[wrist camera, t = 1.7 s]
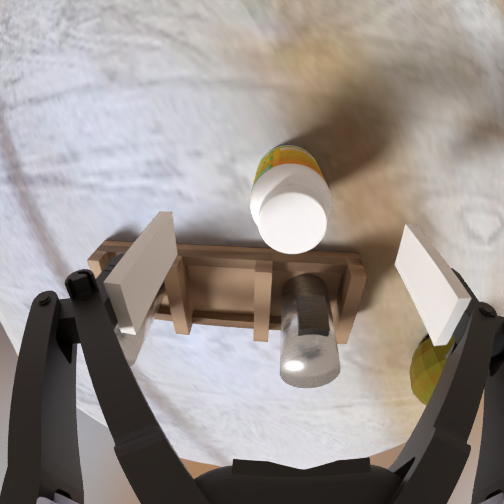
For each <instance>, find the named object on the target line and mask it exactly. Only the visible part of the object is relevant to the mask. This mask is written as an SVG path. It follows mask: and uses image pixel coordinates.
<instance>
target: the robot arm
mask: <svg viewBox="0 0 504 504" xmlns="http://www.w3.org/2000/svg"><path fill="white" fill-rule="evenodd" d="M176 256H177V246H176V239H175V231H174V223H173V215H172V212H159V213H158V214H157V215H156V216H155V218H154V219H153V220H152V221H151V222H150V224H149V225H148V226H147V227H146V228H145V230H144V231H143V232H142V233H141V234H140V236H139V237H138V238H137V239H136V241H135V242H134V243H133V244H132V246H131V247H130V248H129V249H128V251H127V252H126V253H120V254H118V255H117V256H115V257H114V258H112V259H111V261H110V262H109V263H108V264H107V266H106V267H105V268H104V269H103V271H102V272H101V273H100V274H99V276H98V277H97V278H96V279H95V276H94V273H93V272H92V271H91V270H88V269H82V270H78V271H76V272H73V273H72V274H70V275H69V276H68V277H67V278H66V280H65V286H66V288H67V291H68V293H69V296H70V298H69V299H60V300H59V298H58V296H57V294H56V293H55V292H54V291H45V292H42V293H41V294H39V295H38V296H37V297H36V298H35V299H34V300H33V302H32V305H31V309H30V312H29V316H28V319H27V323H26V327H25V331H24V335H23V339H22V343H21V348H20V352H19V357H18V362H17V367H16V373H15V379H14V386H13V392H12V401H11V409H10V419H9V435H8V467H7V471H6V474H5V478H4V482H3V486H2V490H1V494H0V504H84V490H83V481H82V474H81V466H80V458H79V448H78V437H77V419H76V356H77V343H81V346H82V350H83V353H84V357H85V361H86V364H87V367H88V371H89V374H90V377H91V380H92V384H93V387H94V390H95V393H96V395H97V398H98V401H99V404H100V407H101V409H102V412H103V415H104V417H105V420H106V422H107V425H108V427H109V430H110V432H111V435H112V437H113V439H114V442H115V447H114V450H115V453H116V456H117V458H118V460H119V463H120V465H121V467H122V469H123V471H124V473H125V475H126V477H127V479H128V481H129V483H130V485H131V486H132V488H133V490H134V492H135V494H136V495H137V497H138V499H139V501H140V503H141V504H447V502H448V500H449V498H450V496H451V494H452V492H453V490H454V488H455V486H456V484H457V482H458V480H459V478H460V475H461V473H462V471H463V469H464V466H465V464H466V461H467V459H468V457H469V454H470V450H471V446H470V445H468V444H467V440H468V437H469V434H470V432H471V429H472V426H473V423H474V420H475V417H476V414H477V411H478V408H479V404H480V400H481V397H482V394H483V390H485V391H484V414H483V415H484V416H483V428H482V439H481V446H480V454H479V460H478V466H477V472H476V477H475V482H474V488H473V494H472V502H471V504H504V317H501V316H497V313H496V311H495V309H494V308H493V307H492V306H490V305H489V304H487V303H484V302H479V301H478V300H477V298H476V297H475V295H474V294H473V292H472V291H471V289H470V288H469V287H468V285H467V284H466V282H464V279H463V278H462V277H461V275H460V274H459V273H458V272H456V271H455V270H454V269H453V268H450V267H449V265H448V264H447V263H446V261H445V260H444V259H443V257H442V256H441V255H440V253H439V252H438V251H437V249H436V248H435V247H434V246H433V244H432V243H431V242H430V241H429V239H428V238H427V237H426V236H425V234H424V233H423V232H422V231H421V230H420V228H419V227H418V226H417V225H411V224H405V228H404V232H403V236H402V240H401V244H400V247H399V251H398V255H397V258H396V261H395V267H396V268H397V270H398V272H399V274H400V276H401V278H402V280H403V282H404V284H405V285H406V287H407V289H408V291H409V293H410V295H411V297H412V299H413V301H414V303H415V306H416V308H417V310H418V312H419V314H420V316H421V318H422V320H423V322H424V325H425V327H426V329H427V331H428V334H429V336H430V338H431V340H432V343H433V345H434V346H439V345H447V343H448V342H449V340H450V338H451V336H453V338H454V340H455V342H454V344H453V346H452V347H451V349H450V350H449V352H448V354H447V355H446V357H445V358H446V359H447V361H446V363H445V366H444V368H443V371H442V373H441V375H440V378H439V380H438V382H437V385H436V387H435V389H434V391H433V394H432V396H431V398H430V400H429V402H428V404H427V406H426V408H425V410H424V412H423V414H422V416H421V418H420V420H419V422H418V424H417V425H416V427H415V429H414V431H413V433H412V435H411V436H410V438H409V440H408V441H407V443H406V445H405V447H404V448H403V450H402V452H401V453H400V455H399V456H398V458H397V459H396V461H395V462H394V463H393V464H392V465H391V466H390V467H389V469H388V470H387V469H385V468H382V467H379V466H375V465H370V459H369V457H368V458H359V459H349V460H338V461H335V462H331V463H328V464H325V465H321V466H317V467H314V468H310V469H305V470H302V469H297V468H292V467H288V466H284V465H280V464H276V463H272V462H268V461H252V460H239V459H233V465H232V466H225V467H221V468H217V469H214V470H211V471H208V472H206V473H204V474H202V475H200V476H199V477H197V478H195V479H193V478H192V476H191V475H190V473H189V472H188V470H187V469H186V467H185V466H184V464H183V463H182V461H181V460H180V458H179V457H178V455H177V453H176V452H175V450H174V449H173V447H172V445H171V444H170V442H169V440H168V439H167V437H166V435H165V434H164V432H163V430H162V428H161V427H160V425H159V423H158V421H157V420H156V418H155V416H154V414H153V412H152V410H151V409H150V407H149V405H148V403H147V401H146V399H145V397H144V395H143V393H142V391H141V389H140V387H139V385H138V383H137V381H136V379H135V377H134V375H133V372H132V370H131V368H130V366H129V364H128V362H127V359H126V357H125V355H124V352H123V350H122V348H121V345H120V343H119V341H118V338H117V336H116V333H115V331H114V329H115V327H116V325H117V323H118V325H119V328H120V330H121V333H127V334H133V335H137V333H138V331H139V329H140V327H141V324H142V322H143V320H144V318H145V316H146V314H147V312H148V310H149V308H150V306H151V304H152V302H153V300H154V298H155V296H156V294H157V292H158V290H159V289H160V287H161V285H162V283H163V281H164V279H165V277H166V275H167V273H168V271H169V269H170V268H171V266H172V264H173V262H174V260H175V258H176Z"/></svg>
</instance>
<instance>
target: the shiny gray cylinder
mask: <svg viewBox="0 0 504 504" xmlns="http://www.w3.org/2000/svg"><path fill="white" fill-rule="evenodd" d="M339 373H340V362H339V355H338V348H337V341H336V335H335V328H334V322H333V316H332V310H331V304H330V299H329V293H328V288H327V285H326V283H325V282H324V280H322V279H321V278H320V277H318V276H315V275H312V274H301V275H297V276H294V277H292V278H290V279H289V280H288V281H287V282H286V283H285V284H284V286H283V288H282V307H281V355H280V376H281V378H282V380H283V381H284V382H286V383H287V384H289V385H292V386H295V387H299V388H314V387H319V386H323V385H325V384H328V383H330V382H331V381H333V380H334V379H335V378H336V377H337V376H338V375H339Z"/></svg>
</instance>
